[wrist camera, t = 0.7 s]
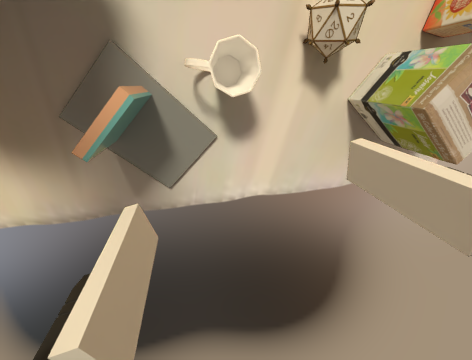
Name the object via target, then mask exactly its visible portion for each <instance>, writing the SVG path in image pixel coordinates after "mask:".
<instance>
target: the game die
mask: <svg viewBox="0 0 472 360" xmlns="http://www.w3.org/2000/svg"><path fill="white" fill-rule="evenodd" d="M374 1H375V0H371V1H370V2H368V3H367V4H366V3H365V2H364V1H363V0H321V1H320V2H318V3H317V4H316V5H314V6H313V7H311V5H310V4H309V5H306V7H307V9H308V10H310V18H309V28H308V38H307V39H305V40H304V42H303V43H307V42H309V44H310V45H313V46H314V47H315V48H316V49H317V50H318V51H319V52H320V53H321V54H322V55H323V56H324V57H325V59H324V61H323V62H324V64H325V63H326V62H327V58H328V57H329V56H331V55H333V54H334V53H336V52H338V51H339V50H341V49H343V48H344V47H346V46H347V45H349V44H351V43H352V42H354V41H355V42H356V43H360V40H359V39H357V36H358V33H359V30H360V27H361V24H362V21H363V18H364V14H365V11H366V8H367V7H368V6H370V5H372V4H373V3H374Z"/></svg>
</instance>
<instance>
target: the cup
mask: <svg viewBox="0 0 472 360" xmlns="http://www.w3.org/2000/svg"><path fill="white" fill-rule="evenodd" d="M185 66H186V67H189V68H194V69H198V70H203V71H209V72H211V76H212V79H213V82H214V86H215V87H216V88H218V89H219V90H221V91H223V92H224V93H226V94H228V95H229V96H231V97H232V98H233V97H236V96H239V95H242V94H245V93H248V92H251V91H252V89H253V87H254V85H255V83H256V82H257V80H258V78H259V76H260V74H261V66H260V61H259V55H258V49H257V48H256V47H255V46H254V45H252V44H251V43H250V42H248V41H247V40H246V39H245V38H243V37H242V36H241V35H239V34H238V35H235V36H232V37H228V38H225V39H222V40H218V41H217V44H216V46H215V48H214V51H213V53H212V55H211V57H210V60H209V61H207V60H201V59H193V58H187V59H185Z"/></svg>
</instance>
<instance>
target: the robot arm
mask: <svg viewBox="0 0 472 360" xmlns="http://www.w3.org/2000/svg"><path fill="white" fill-rule="evenodd" d="M347 180H349V181H350V182H352V183H353V184H355V185H357V186H358V187H360V188H361V189H363V190H364V191H366V192H367V193H369V194H371V195H372V196H374V197H375V198H377V199H378V200H380V201H382V202H383V203H385V204H386V205H388V206H389V207H391V208H393V209H394V210H396V211H397V212H399V213H401V214H402V215H404V216H405V217H407V218H408V219H410V220H411V221H413V222H415V223H416V224H418V225H419V226H421V227H422V228H424V229H426V230H427V231H429V232H430V233H432V234H433V235H435V236H436V237H438V238H440V239H441V240H443V241H445V242H446V243H447V244H449V245H451V246H452V247H454V248H455V249H457V250H459V251H460V252H462V253H463V254H465V255H466V256H468V257H469V256H472V175H470V174H465V173H464V172H461V171H458V170H455V169H452V168H449V167H444V166H441V165H438V164H435V163H432V162H430V161H427V160H424V159H421V158H418V157H415V156H412V155H409V154H406V153H403V152H400V151H397V150H394V149H392V148H389V147H386V146H383V145H380V144H377V143H374V142H371V141H368V140H365V139H362V138H360V139H357V140H353V141H350V149H349V159H348V170H347ZM157 242H158V236H157V234H156V233H155V231H154V229H153V227H152V226H151V224H150V222H149V221H148V219H147V217H146V215H145V214H144V212H143V210H142V209H141V207H140V205H139V204H135V205H131V206H128V207H125V208H124V210H123V212H122V214H121V216H120V218H119V220H118V222H117V223H116V226H115V227H114V229H113V231H112V233H111V235H110V237H109V239H108V241H107V243H106V245H105V247H104V249H103V251H102V253H101V255H100V257H99V259H98V260H97V262H96V264H95V266H94V268H93V270H92V272H91V273H90V274H88V275H84V277H83V278H82V279H81V280H80V281H79V282H78V283H77V285H76V286H75V287H74V288H73V290H72V291H71V293H70V295H69V297H68V298H67V300H66V302H65V305H64V306H63V307H62V309H61V311H60V313H59V314H58V315H59V317H58V318H56V320H55V321H54V323H53V325H52V327H51V329H50V330H49V332H48V334H47V336H46V338H45V339H44V341H43V343H42V345H41V346H40V348H39V350H38V352H37V354H36V355H35V357H34V359H33V360H134V356H135V351H136V346H137V341H138V336H139V331H140V326H141V321H142V316H143V312H144V307H145V302H146V297H147V292H148V287H149V282H150V277H151V271H152V267H153V262H154V257H155V252H156V247H157Z"/></svg>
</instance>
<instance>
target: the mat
mask: <svg viewBox="0 0 472 360" xmlns="http://www.w3.org/2000/svg"><path fill="white" fill-rule="evenodd" d="M119 86H142V87H143V88H145V89H146V90H147V91H148V92H149V93H151V94H152V95H151V97H150V98H149V99H148V101H147V102H146V103H145V104H144V106H143V107H142V108H141V110H140V111H139V112H138V114H137V115H136V116H135V118H134V119H133V120H132V121H131V123H130V124H129V125H128V127H127V128H126V129H125V131H124V132H123V133H122V134H121V136H120V137H119V138H118V140H117V141H116V142H114V143H113V144H112V145H110V146H109V147H108V149H110V150H111V151H113V152H114V153H116V154H117V155H119V156H120V157H122V158H124V159H125V160H127V161H128V162H130V163H131V164H133V165H134V166H136V167H138V168H139V169H141V170H142V171H144V172H145V173H147V174H148V175H150V176H151V177H153V178H155V179H156V180H158V181H159V182H161V183H162V184H164V185H165V186H167V187H169V188H171V187H172V185H173V184H174V183H175V182H176V181H177V180H178V179H179V178H180V177H181V175H182V174H183V173H184V172H185V171H186V170H187V169H188V168H189V167H190V165H191V164H192V163H193V162H194V161H195V160H196V159H197V158H198V157H199V155H200V154H201V153H202V152H203V151H204V150H205V149H206V148H207V147H208V146H209V144H210V143H211V142H212V141H213V140H214V139H215V138H216V137H217V135H215V134H214V133H213V132H212V131H211V130H210V129H209V128H208V127H207V126H205V125H204V124H203V123H202V122H201V121H200V120H199V119H198V118H197V117H195V116H194V115H193V114H192V113H191V112H190V111H189V110H188V109H187V108H185V107H184V106H183V105H182V104H181V103H180V102H179V101H178V100H177V99H176V98H174V97H173V96H172V95H171V94H170V93H169V92H168V91H167V90H166V89H164V88H163V87H162V86H161V85H160V84H159V83H158V82H157V81H156V80H154V79H153V78H152V77H151V76H150V75H149V74H148V73H147V72H146V71H144V70H143V69H142V68H141V67H140V66H139V65H138V64H137V63H136V62H134V61H133V60H132V59H131V58H130V57H129V56H128V55H127V54H126V53H124V52H123V51H122V50H121V49H120V48H119V47H118V46H117V45H116V44H114V43H113V42H112V41H111V40H110V41H109V42H108V44H107V45H106V47H105V48H104V50H103V51H102V53H101V54H100V56H99V57H98V59H97V60H96V62H95V63H94V65H93V66H92V68H91V69H90V71H89V72H88V74H87V75H86V77H85V78H84V80H83V81H82V83H81V84H80V86H79V87H78V89H77V90H76V92H75V93H74V95H73V96H72V98H71V99H70V101H69V102H68V104H67V106H66V107H65V109H64V110H63V112H62V113H61V115H60V116H59V117H60V118H62V119H63V120H65V121H66V122H68V123H69V124H71V125H72V126H74V127H75V128H77V129H79V130H80V131H82V132H83V133H86V132H87V130H88V129H89V127H90V126H91V125H92V123H93V122H94V120H95V119H96V118H97V116H98V115H99V113H100V112H101V111H102V109H103V108H104V106H105V105H106V104H107V102H108V101H109V99H110V98H111V97H112V95H113V94H114V92H115V91H116V90H117V88H118V87H119Z"/></svg>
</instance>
